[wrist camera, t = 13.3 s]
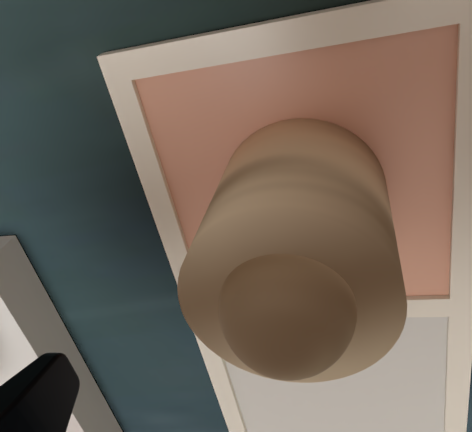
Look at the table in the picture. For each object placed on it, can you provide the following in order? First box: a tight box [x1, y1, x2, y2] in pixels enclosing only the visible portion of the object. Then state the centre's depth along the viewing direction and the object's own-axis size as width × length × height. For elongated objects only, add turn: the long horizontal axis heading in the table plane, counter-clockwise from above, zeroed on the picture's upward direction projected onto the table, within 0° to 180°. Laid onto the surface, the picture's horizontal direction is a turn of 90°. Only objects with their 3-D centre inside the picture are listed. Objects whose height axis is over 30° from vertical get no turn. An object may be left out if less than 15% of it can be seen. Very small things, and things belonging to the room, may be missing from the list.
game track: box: [97, 0, 472, 432], centre depth 19 cm, size 29×10×1 cm, turn 12°
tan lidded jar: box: [177, 118, 407, 383], centre depth 11 cm, size 5×5×6 cm
